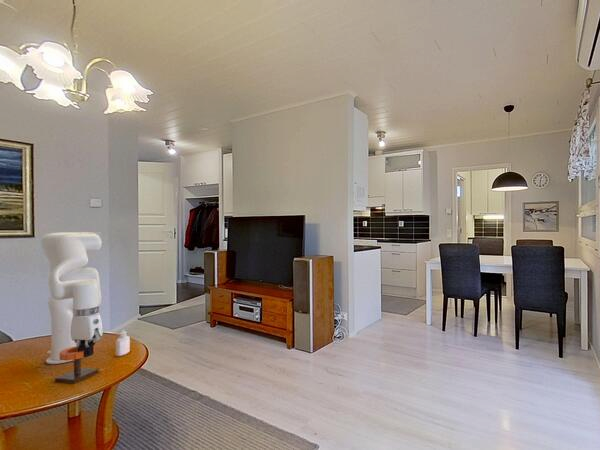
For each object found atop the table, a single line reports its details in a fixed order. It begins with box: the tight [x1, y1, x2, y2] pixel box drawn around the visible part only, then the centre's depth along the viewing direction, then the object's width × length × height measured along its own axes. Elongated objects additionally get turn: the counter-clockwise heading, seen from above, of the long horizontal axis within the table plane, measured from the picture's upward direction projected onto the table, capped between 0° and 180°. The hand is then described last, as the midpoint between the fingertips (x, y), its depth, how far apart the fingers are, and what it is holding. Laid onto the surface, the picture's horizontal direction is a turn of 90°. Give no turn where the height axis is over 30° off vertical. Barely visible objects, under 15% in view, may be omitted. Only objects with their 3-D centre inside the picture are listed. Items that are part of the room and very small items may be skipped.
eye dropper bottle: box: [115, 329, 131, 357], centre depth 150 cm, size 4×6×12 cm
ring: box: [59, 345, 96, 361], centre depth 127 cm, size 10×10×2 cm
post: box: [54, 358, 100, 384], centre depth 127 cm, size 9×9×10 cm
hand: (85, 355), depth 127 cm, fingers closed on ring, 2 cm apart
